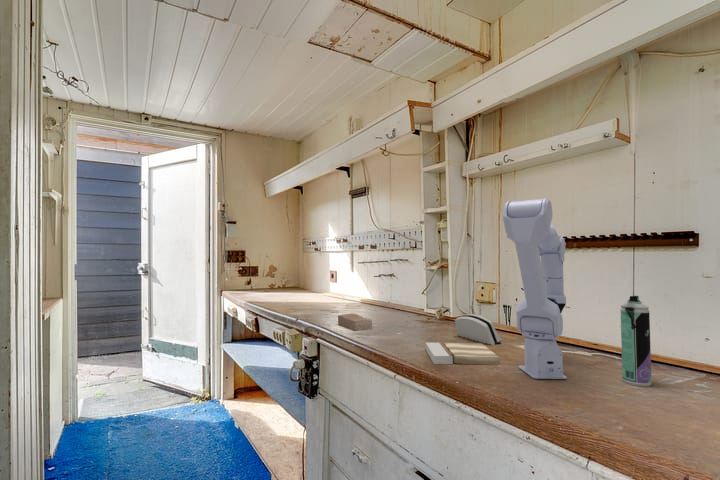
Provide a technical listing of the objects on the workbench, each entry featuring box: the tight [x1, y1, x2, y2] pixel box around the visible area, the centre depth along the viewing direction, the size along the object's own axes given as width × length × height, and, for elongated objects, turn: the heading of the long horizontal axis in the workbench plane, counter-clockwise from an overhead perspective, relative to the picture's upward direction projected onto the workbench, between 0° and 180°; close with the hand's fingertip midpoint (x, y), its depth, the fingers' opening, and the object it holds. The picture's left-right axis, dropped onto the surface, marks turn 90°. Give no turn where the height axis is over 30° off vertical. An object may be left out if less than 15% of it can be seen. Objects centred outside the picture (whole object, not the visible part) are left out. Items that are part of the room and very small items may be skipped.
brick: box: [337, 312, 373, 332], centre depth 158 cm, size 17×8×5 cm, turn 29°
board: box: [425, 341, 454, 365], centre depth 112 cm, size 16×5×2 cm, turn 178°
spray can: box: [620, 295, 653, 387], centre depth 89 cm, size 6×6×20 cm
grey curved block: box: [454, 313, 503, 346], centre depth 134 cm, size 17×5×10 cm, turn 28°
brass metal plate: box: [443, 342, 500, 366], centre depth 112 cm, size 16×12×2 cm
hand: (553, 326), depth 108 cm, fingers closed
